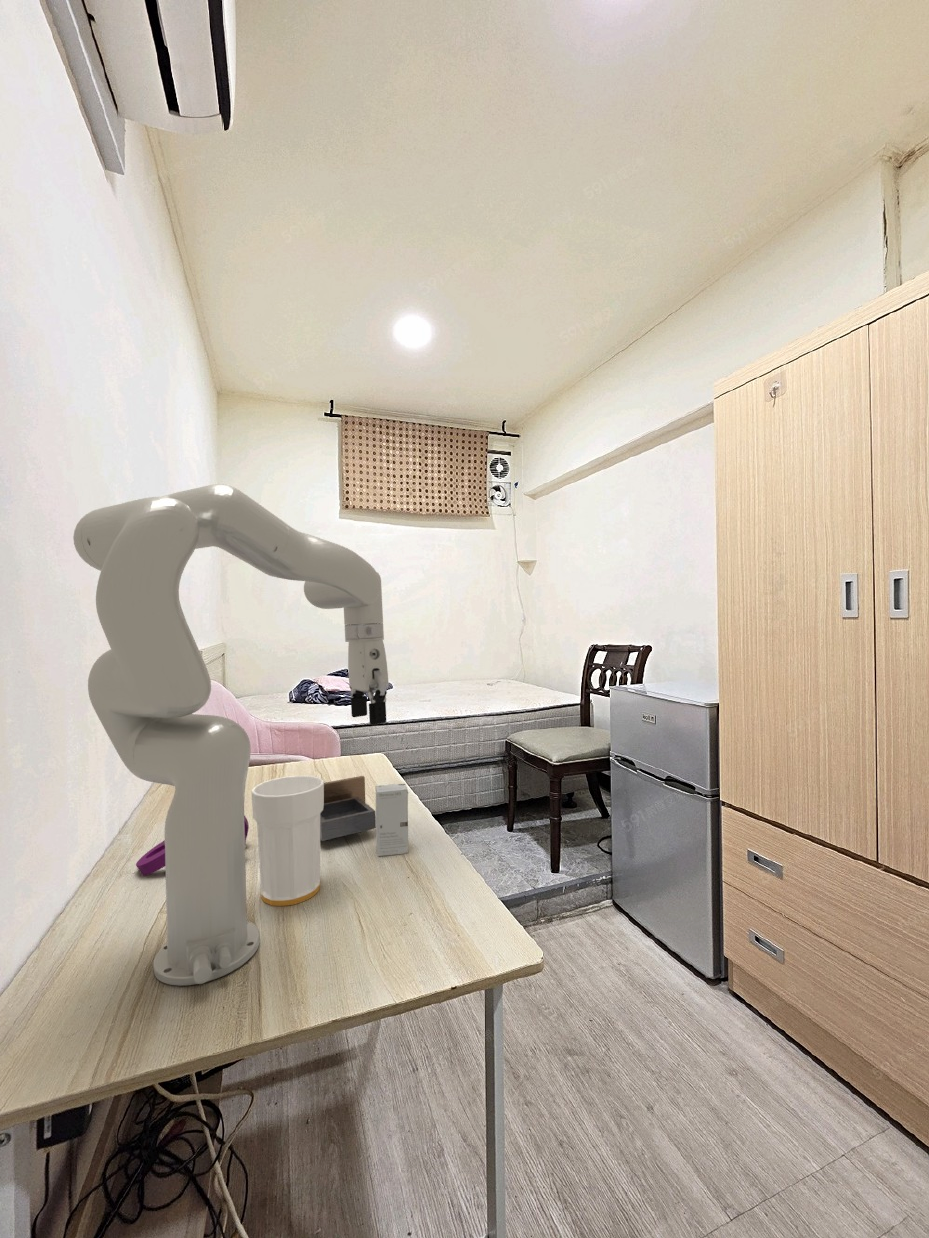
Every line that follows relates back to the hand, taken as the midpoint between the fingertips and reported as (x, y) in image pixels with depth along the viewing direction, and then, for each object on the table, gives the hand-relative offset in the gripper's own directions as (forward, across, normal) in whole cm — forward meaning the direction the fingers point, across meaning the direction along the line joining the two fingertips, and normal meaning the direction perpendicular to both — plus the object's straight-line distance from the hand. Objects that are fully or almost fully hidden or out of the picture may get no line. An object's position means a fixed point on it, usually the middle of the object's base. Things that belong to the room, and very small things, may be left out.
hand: (368, 719), depth 102 cm
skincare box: (+25, -5, -2) cm, 26 cm away
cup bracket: (+25, +10, +4) cm, 27 cm away
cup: (+24, -9, +18) cm, 32 cm away
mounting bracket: (+25, +13, +31) cm, 42 cm away
